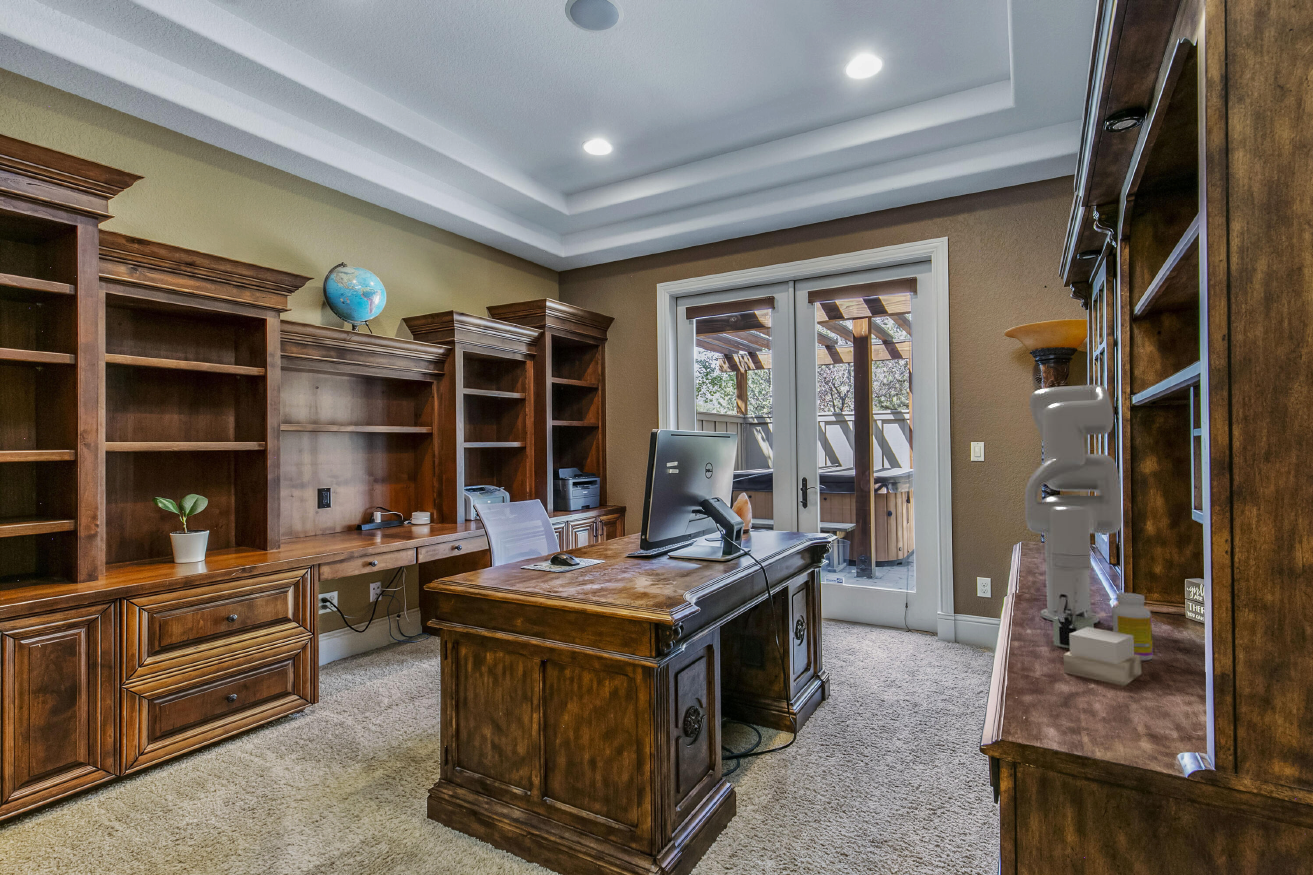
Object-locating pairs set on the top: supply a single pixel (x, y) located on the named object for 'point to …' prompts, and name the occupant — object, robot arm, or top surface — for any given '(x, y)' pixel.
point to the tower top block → (1101, 645)
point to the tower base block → (1103, 669)
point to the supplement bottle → (1134, 622)
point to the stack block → (1079, 624)
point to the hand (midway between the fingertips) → (1073, 641)
